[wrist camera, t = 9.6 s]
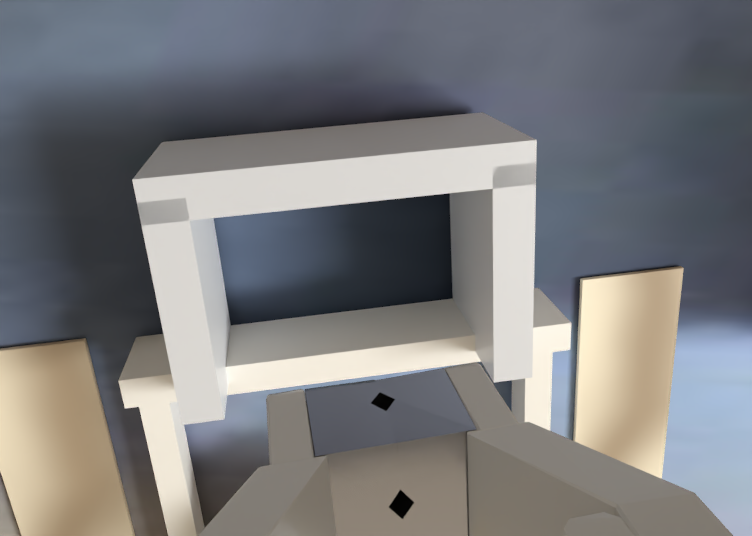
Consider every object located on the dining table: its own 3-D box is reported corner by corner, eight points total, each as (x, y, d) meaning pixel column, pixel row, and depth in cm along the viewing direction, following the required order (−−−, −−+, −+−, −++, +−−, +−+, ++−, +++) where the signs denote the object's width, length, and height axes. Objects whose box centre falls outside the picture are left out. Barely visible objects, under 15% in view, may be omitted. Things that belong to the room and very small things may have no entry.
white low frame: (201, 632, 29) (187, 752, 24) (94, 148, 21) (46, 187, 17) (532, 577, 31) (579, 679, 26) (542, 106, 23) (610, 132, 18)
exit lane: (61, 649, 29) (60, 653, 28) (-35, 352, 23) (-38, 355, 23) (651, 551, 31) (653, 554, 31) (680, 266, 26) (683, 268, 26)
